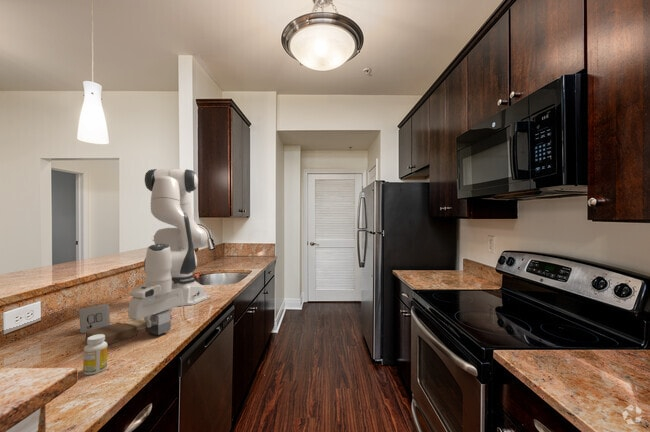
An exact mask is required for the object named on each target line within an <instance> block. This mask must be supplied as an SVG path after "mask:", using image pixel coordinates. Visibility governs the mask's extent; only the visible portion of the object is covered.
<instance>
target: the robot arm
mask: <svg viewBox="0 0 650 432" xmlns="http://www.w3.org/2000/svg"><path fill="white" fill-rule="evenodd" d="M198 184H199V177H198V176H197V174H196V172H195V171H194V170H192V169H181V168H162V169H161V168H159V169H157V168H156V169H155V168H154V169H149V170H148V171H147V172H146V173H145V175H144V185H145V188H146V189H147V190H148V191H150V192H151V197H150V213H151V214H152V216H153V217H154V219H155V218H156V219H157V220H158V221H160V222H162V223H164V224H168V225H171V226H173V227H165V228H159V229H158V230H156V232H155V233H154V236H153V243H154V244H151V245H149V246H148V247H147V249H146V254H145V259H144V264H143V266H144V267H143V268H144V271H145V278H144V283H143V284H141V285H140V286H138V287H136V288H135V289H132V290H131V291H130V297H132V298H131V299H129V303H128V318H129V319H131V320H138V319H141V318H144V320H145V321H146V322H147V327H152V326H153V323H154V322H153V321H151V320H150V319H149V318H151V315H153V314H156V313H159V312H162V311H170V312H171V313H172V311H173V309H174V308H177V307H183V306H193V305H196V304H198V303H200V302H203V301H205V300H207V299H209V298H211V296H210V294H207V293H206V289H205V286H204V285H202V284H200V283H199V282H198V281H197V280H196V279H199V277H200V275H199V274H196V273H195V274H193V273H194V271H196V270H197V266H198V258H197V254H196V251H195V250H196V249H200V248H203V247H205V245H206V244H207V243H208V240H209V237H208V232H207V231H206V230H205V229H204V228H202V227H201V226H199V225H198V224H197V222H196V221H195V219H194V217H193V213H192V206H191V196H190V193H192V192H194V191H195V190H196V189H197V187H198Z"/></svg>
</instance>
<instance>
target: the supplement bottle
mask: <svg viewBox="0 0 650 432" xmlns="http://www.w3.org/2000/svg"><path fill="white" fill-rule="evenodd" d="M104 340H105V335H104V334H97V335H93V336H90V337H88V338H87V341H86V345H85V346H84V347H83V364H82V365H83V366H82V367H83V369H82V371H83V374H84V375H85V376H86V375H87V376H91V375H95V374H99V373H102V372H103V371H105V370H106V369H107V367H108V346H109V345H108V344H107V342H105V341H104Z"/></svg>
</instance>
